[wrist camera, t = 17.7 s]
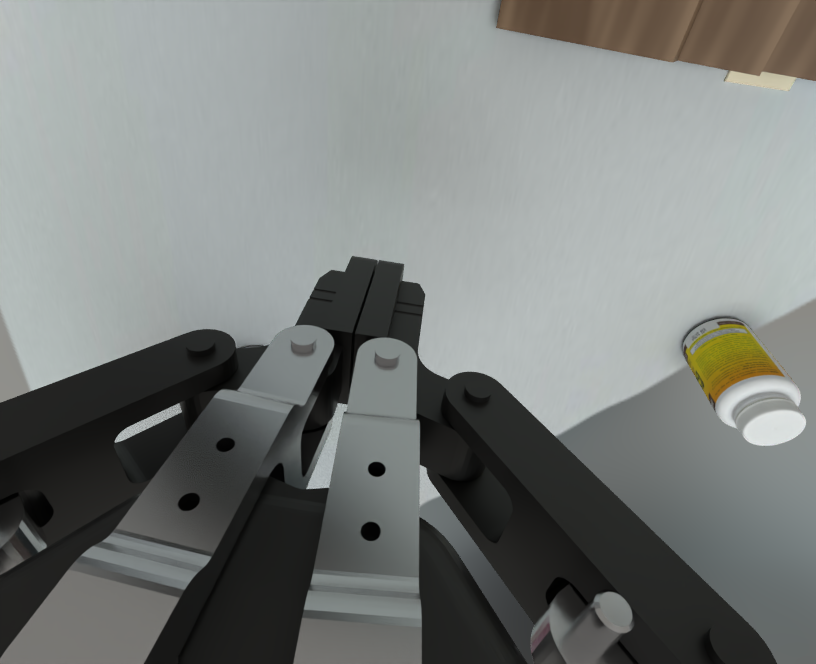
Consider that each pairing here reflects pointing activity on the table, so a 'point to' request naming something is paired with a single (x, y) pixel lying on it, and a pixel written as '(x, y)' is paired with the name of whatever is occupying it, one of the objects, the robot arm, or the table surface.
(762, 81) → the plate
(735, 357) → the supplement bottle
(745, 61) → the domino
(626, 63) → the table surface
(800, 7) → the domino
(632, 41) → the domino
